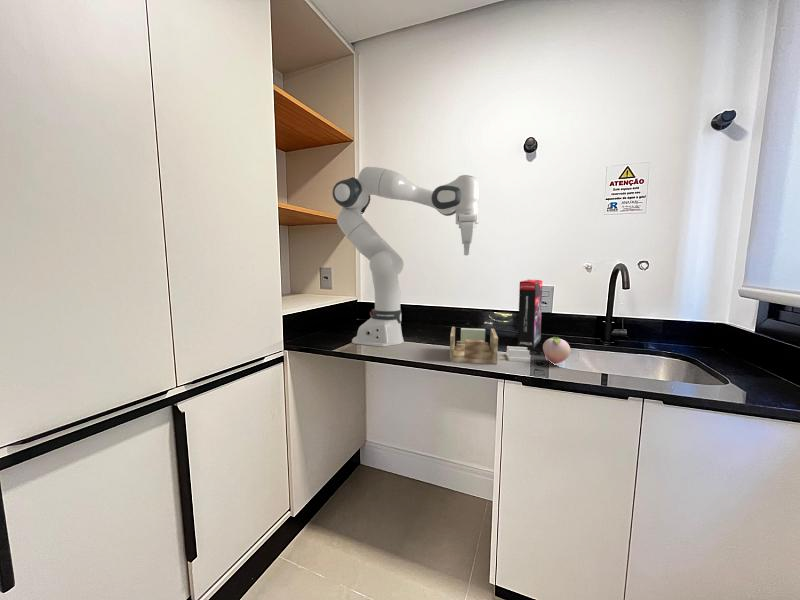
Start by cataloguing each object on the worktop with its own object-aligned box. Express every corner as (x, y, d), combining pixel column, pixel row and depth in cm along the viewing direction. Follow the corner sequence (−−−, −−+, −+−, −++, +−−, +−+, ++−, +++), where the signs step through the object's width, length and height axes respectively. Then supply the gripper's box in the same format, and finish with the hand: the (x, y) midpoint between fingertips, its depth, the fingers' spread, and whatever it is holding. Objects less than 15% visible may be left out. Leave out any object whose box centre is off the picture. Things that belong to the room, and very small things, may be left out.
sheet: (460, 349, 126) (460, 329, 125) (460, 348, 128) (461, 328, 127) (484, 351, 124) (485, 330, 123) (484, 349, 127) (484, 329, 126)
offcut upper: (466, 350, 114) (466, 341, 114) (465, 347, 118) (465, 339, 117) (483, 350, 114) (484, 342, 113) (482, 348, 117) (482, 339, 117)
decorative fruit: (573, 368, 108) (575, 339, 107) (546, 367, 109) (548, 337, 108) (564, 360, 117) (566, 333, 116) (539, 359, 119) (541, 332, 118)
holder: (508, 360, 116) (509, 350, 116) (506, 354, 124) (506, 345, 124) (529, 362, 115) (530, 352, 115) (525, 355, 123) (526, 346, 122)
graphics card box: (533, 349, 131) (537, 281, 128) (515, 347, 135) (519, 281, 132) (540, 341, 146) (544, 279, 143) (524, 339, 150) (527, 279, 146)
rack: (449, 361, 115) (450, 335, 114) (451, 349, 131) (452, 326, 130) (497, 364, 112) (498, 337, 111) (493, 351, 128) (494, 328, 127)
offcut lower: (464, 358, 115) (464, 349, 115) (464, 355, 118) (464, 347, 118) (481, 359, 114) (482, 350, 114) (481, 356, 117) (481, 348, 117)
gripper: (459, 222, 139) (458, 255, 140) (458, 215, 119) (457, 254, 120) (474, 222, 138) (473, 255, 139) (476, 215, 118) (475, 254, 119)
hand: (466, 255), depth 130 cm, fingers open, 8 cm apart
